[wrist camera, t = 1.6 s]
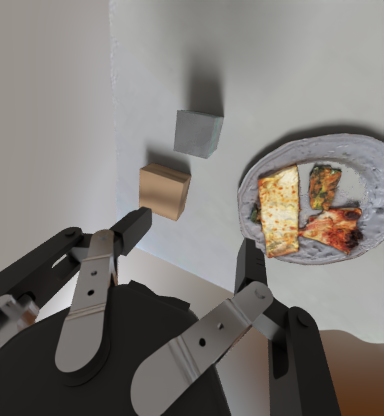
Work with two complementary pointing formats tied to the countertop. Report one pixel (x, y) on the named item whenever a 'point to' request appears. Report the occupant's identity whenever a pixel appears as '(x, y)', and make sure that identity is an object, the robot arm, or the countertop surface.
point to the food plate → (314, 201)
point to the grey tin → (197, 133)
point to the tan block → (163, 190)
